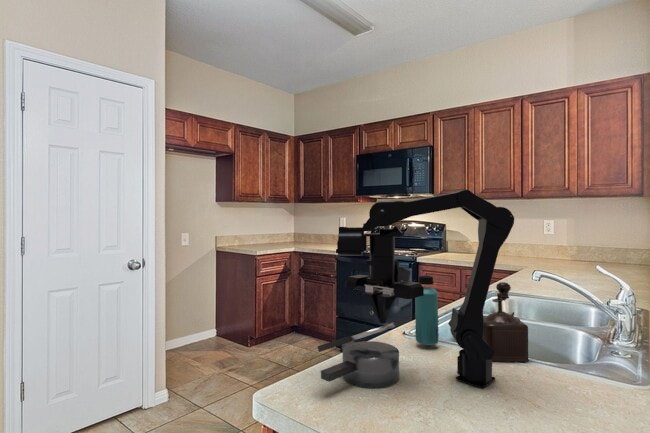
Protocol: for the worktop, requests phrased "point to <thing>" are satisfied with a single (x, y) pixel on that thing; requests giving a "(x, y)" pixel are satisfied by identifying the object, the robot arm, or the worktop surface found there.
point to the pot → (366, 365)
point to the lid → (353, 337)
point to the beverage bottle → (427, 314)
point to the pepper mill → (506, 332)
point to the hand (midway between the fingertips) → (382, 323)
